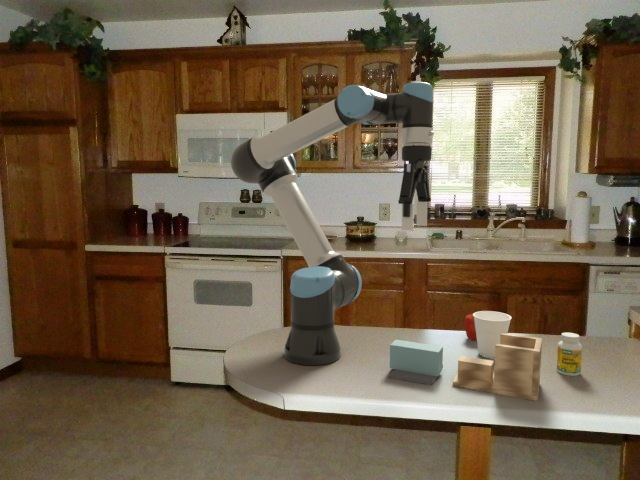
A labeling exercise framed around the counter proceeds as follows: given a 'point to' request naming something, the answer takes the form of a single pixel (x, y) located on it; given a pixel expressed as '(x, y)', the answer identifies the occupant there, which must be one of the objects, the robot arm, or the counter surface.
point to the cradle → (505, 368)
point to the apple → (470, 327)
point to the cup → (490, 330)
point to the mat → (413, 376)
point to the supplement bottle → (569, 355)
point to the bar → (416, 357)
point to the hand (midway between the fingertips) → (414, 227)
